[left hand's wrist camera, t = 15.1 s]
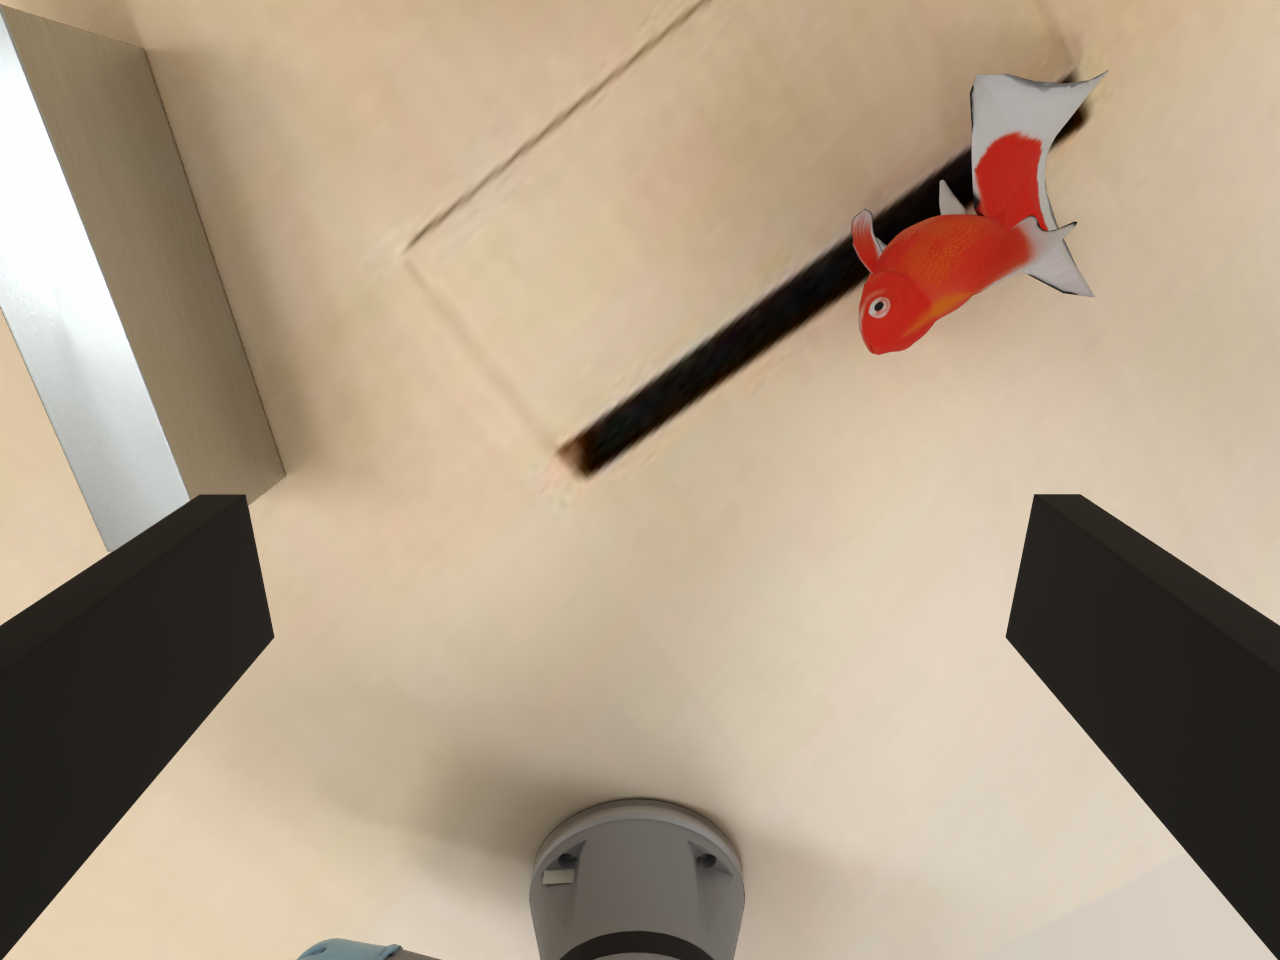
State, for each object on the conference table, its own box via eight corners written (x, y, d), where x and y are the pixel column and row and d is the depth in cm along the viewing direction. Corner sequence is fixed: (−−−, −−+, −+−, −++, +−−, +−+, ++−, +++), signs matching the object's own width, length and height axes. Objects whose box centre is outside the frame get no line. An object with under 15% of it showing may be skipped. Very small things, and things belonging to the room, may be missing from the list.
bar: (286, 476, 43) (206, 539, 35) (205, 488, 43) (106, 552, 35) (144, 48, 35) (-2, 2, 27) (46, 65, 36) (-126, 24, 28)
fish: (753, 175, 33) (940, 193, 25) (982, 15, 37) (1207, -13, 29) (810, 367, 39) (973, 427, 32) (1000, 215, 43) (1188, 235, 35)
